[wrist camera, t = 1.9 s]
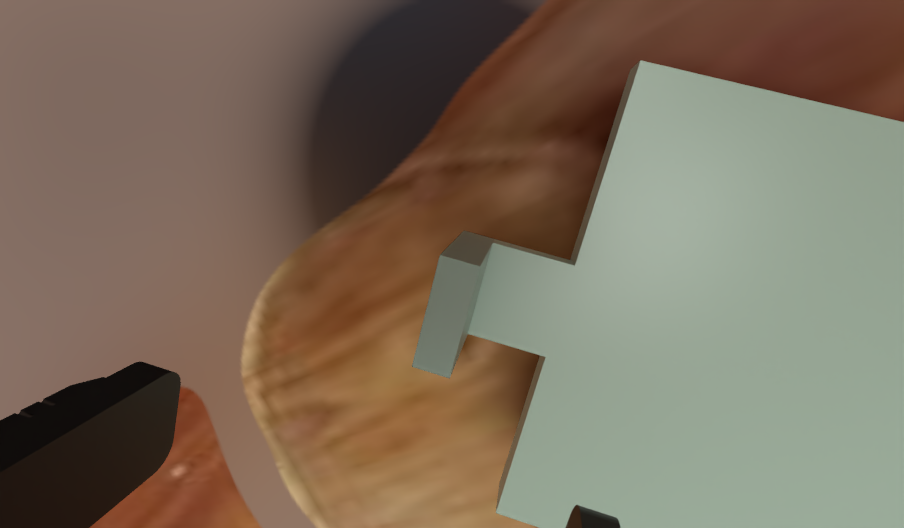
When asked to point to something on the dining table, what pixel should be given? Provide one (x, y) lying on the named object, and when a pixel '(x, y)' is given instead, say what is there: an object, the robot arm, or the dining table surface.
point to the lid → (705, 319)
